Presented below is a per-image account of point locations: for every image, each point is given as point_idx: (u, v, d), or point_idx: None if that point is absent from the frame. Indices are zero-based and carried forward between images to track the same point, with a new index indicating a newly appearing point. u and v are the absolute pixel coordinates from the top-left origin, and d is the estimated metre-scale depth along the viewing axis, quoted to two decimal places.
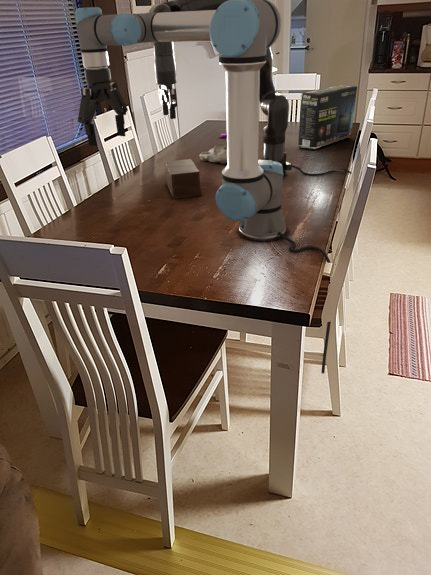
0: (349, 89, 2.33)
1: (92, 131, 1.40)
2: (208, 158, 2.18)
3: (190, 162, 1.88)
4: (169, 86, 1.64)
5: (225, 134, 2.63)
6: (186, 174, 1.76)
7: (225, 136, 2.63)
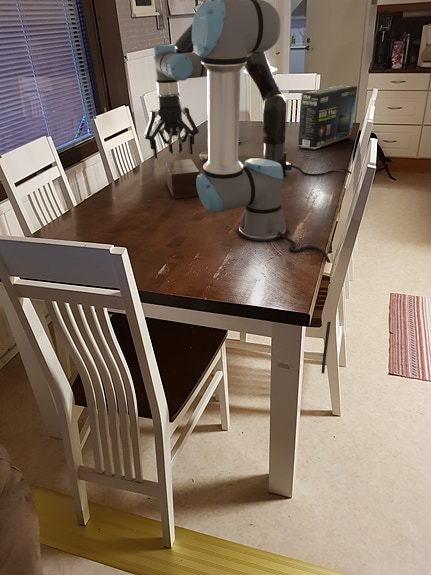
0: (349, 89, 2.33)
1: (154, 146, 1.67)
2: None
3: (190, 162, 1.88)
4: None
5: None
6: (186, 174, 1.76)
7: None
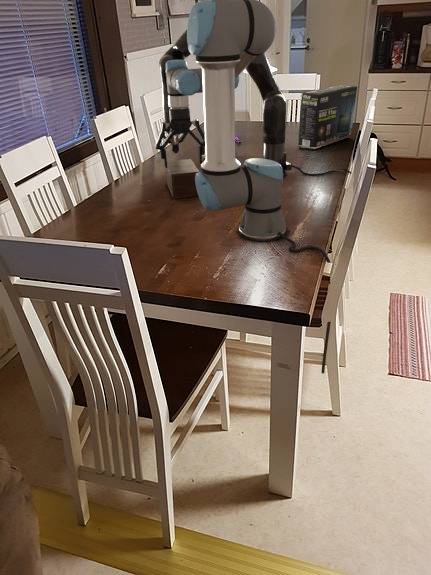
0: (349, 89, 2.33)
1: (164, 156, 1.73)
2: None
3: (190, 162, 1.88)
4: None
5: None
6: (186, 174, 1.76)
7: None
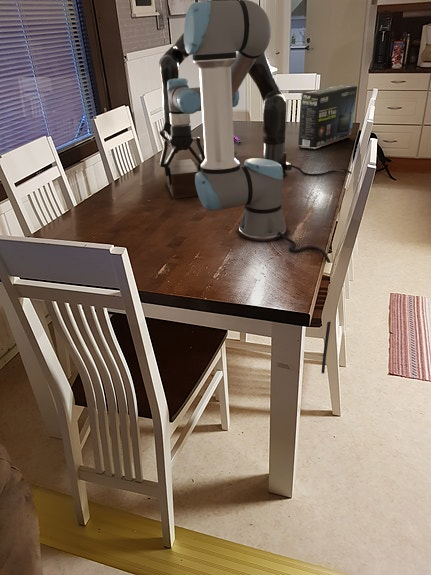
0: (349, 89, 2.33)
1: (168, 173, 1.77)
2: None
3: (190, 162, 1.88)
4: None
5: None
6: (186, 174, 1.76)
7: None
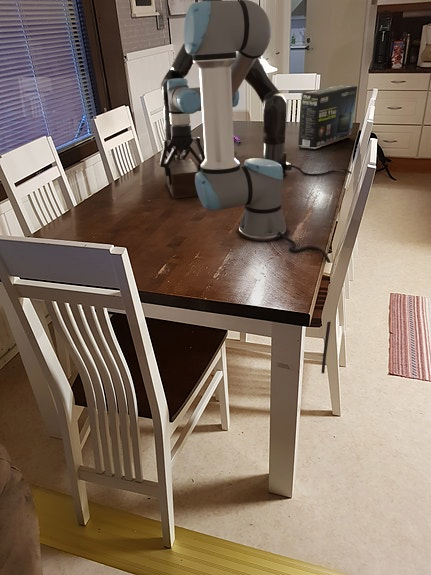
0: (349, 89, 2.33)
1: (168, 173, 1.77)
2: None
3: (190, 162, 1.88)
4: None
5: None
6: (186, 174, 1.76)
7: None
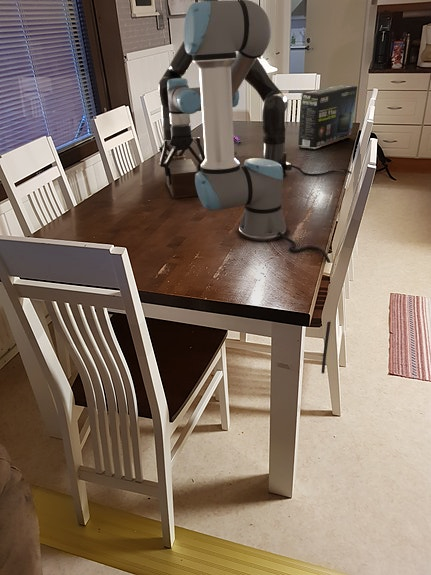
0: (349, 89, 2.33)
1: (168, 173, 1.77)
2: None
3: (190, 162, 1.88)
4: None
5: None
6: (186, 174, 1.76)
7: None
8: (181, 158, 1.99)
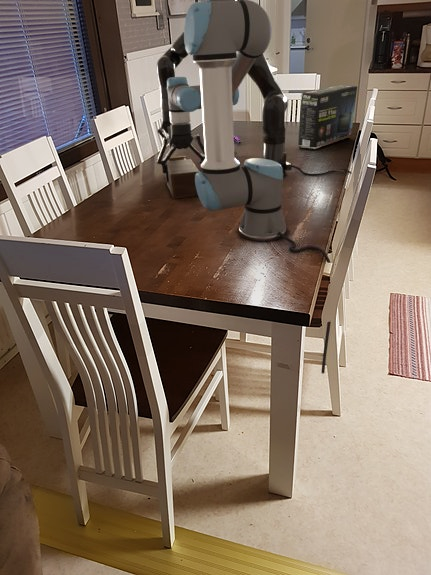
0: (349, 89, 2.33)
1: (165, 170, 1.76)
2: None
3: (190, 162, 1.88)
4: None
5: None
6: (186, 174, 1.76)
7: None
8: (181, 158, 1.99)
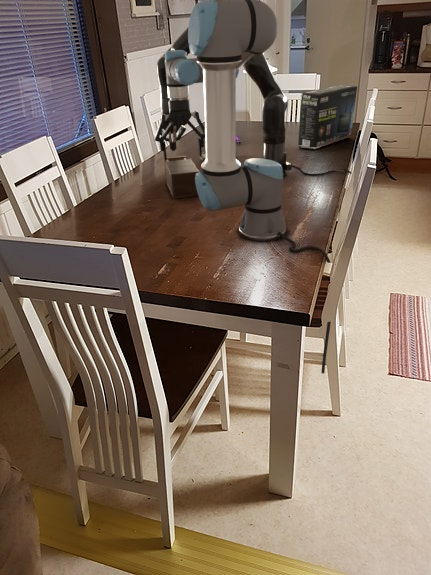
0: (349, 89, 2.33)
1: (163, 148, 1.71)
2: None
3: (190, 162, 1.88)
4: None
5: None
6: (186, 174, 1.76)
7: None
8: (181, 158, 1.99)
